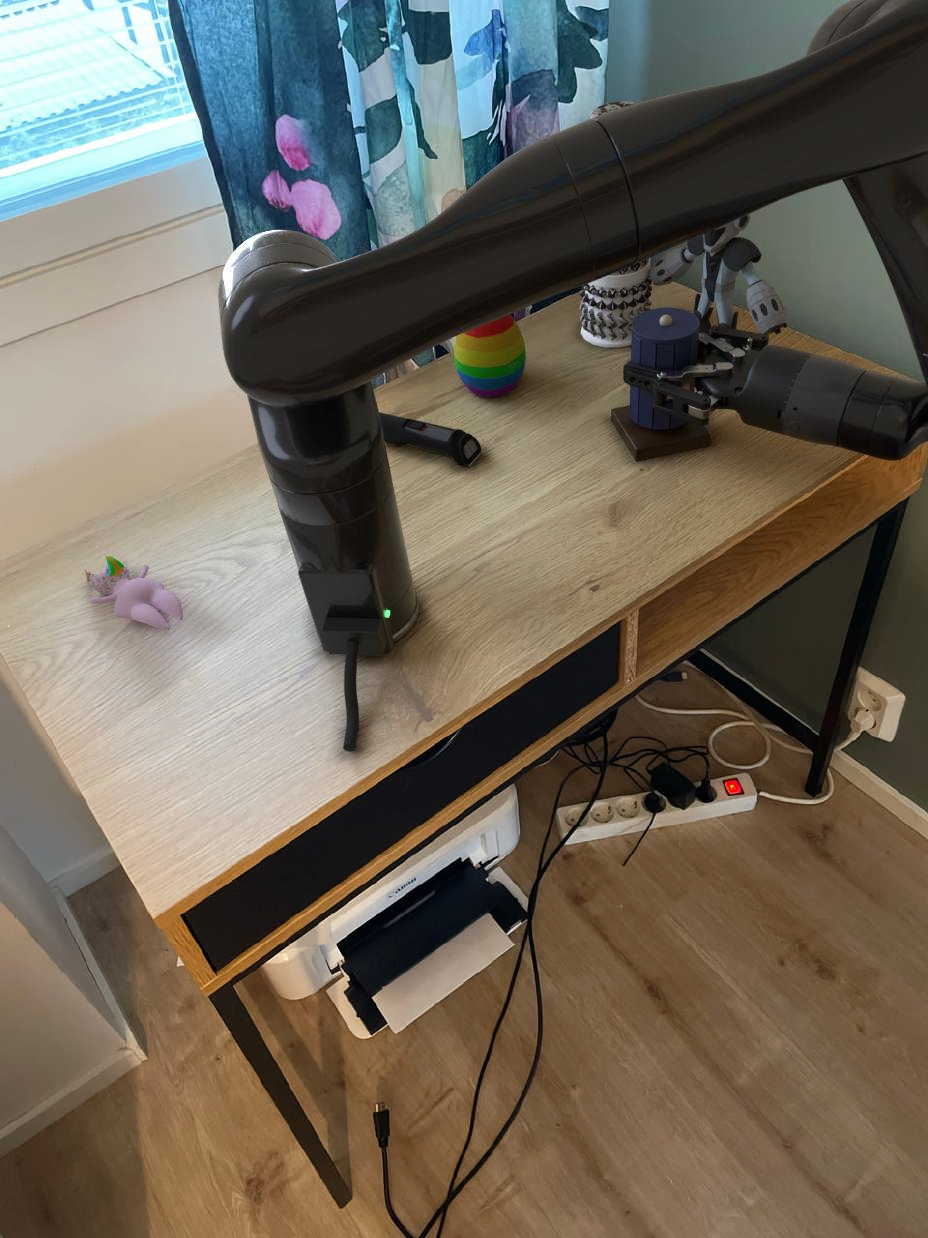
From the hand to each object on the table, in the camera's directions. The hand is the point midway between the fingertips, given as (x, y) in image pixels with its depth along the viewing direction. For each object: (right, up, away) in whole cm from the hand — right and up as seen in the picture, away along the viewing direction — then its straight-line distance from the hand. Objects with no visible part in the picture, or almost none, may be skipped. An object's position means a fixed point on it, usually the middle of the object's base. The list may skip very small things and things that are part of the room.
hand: (642, 355), depth 90 cm
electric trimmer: (-23, -8, +8) cm, 26 cm away
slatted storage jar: (+2, -5, +3) cm, 6 cm away
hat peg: (+3, -7, +5) cm, 9 cm away
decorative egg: (-15, +1, +15) cm, 21 cm away
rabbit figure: (-48, -26, -6) cm, 55 cm away
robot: (+10, +3, +14) cm, 18 cm away
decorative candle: (+1, +9, +21) cm, 23 cm away
